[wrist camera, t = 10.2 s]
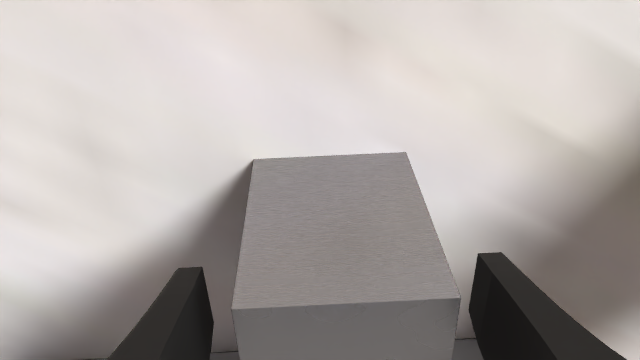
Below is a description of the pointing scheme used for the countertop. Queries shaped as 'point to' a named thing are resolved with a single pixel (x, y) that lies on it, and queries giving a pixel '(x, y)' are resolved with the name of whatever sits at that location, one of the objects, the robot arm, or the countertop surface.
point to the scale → (463, 356)
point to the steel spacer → (341, 264)
